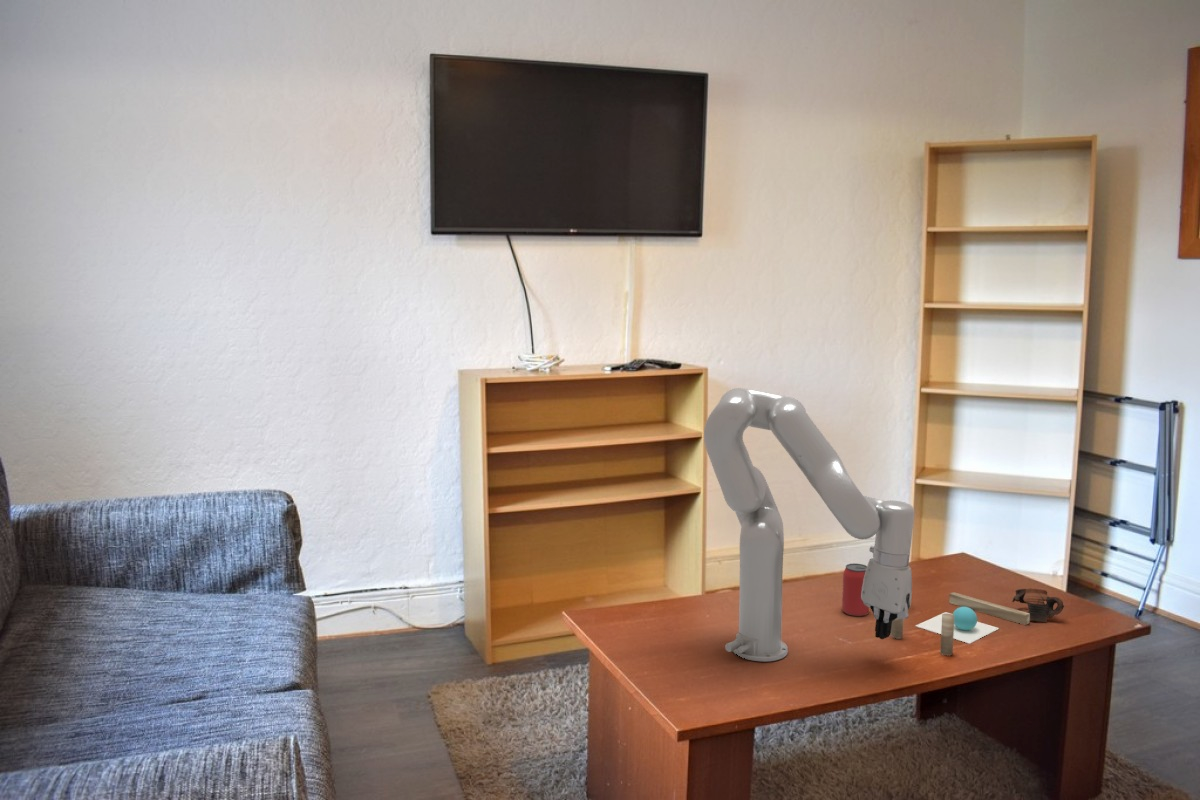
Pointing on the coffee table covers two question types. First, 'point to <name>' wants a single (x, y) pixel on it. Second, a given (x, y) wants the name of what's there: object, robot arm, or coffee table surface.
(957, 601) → the rail
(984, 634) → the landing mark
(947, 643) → the post right
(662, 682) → the coffee table surface
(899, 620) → the post left
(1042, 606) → the pottery mug
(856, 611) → the beer can
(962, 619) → the ball
